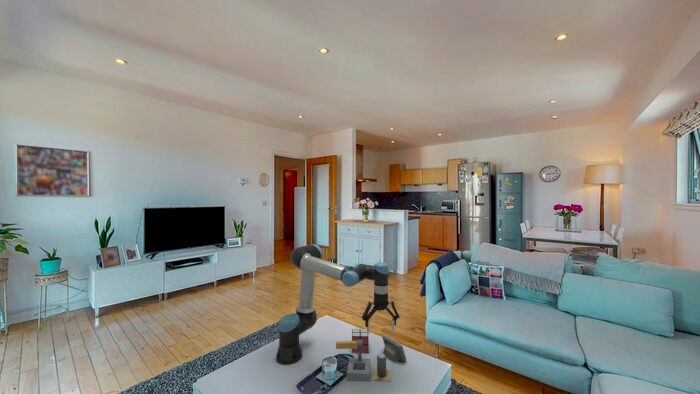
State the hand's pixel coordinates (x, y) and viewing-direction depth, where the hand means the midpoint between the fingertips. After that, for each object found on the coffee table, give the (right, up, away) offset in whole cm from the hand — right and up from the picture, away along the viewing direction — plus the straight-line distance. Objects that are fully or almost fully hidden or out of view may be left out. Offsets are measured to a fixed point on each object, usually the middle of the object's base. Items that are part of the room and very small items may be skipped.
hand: (380, 332), depth 145 cm
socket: (-11, -22, 0) cm, 25 cm away
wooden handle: (-17, -12, +6) cm, 21 cm away
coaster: (0, -22, -2) cm, 22 cm away
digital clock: (+10, -22, +15) cm, 28 cm away
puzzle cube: (-10, -22, +24) cm, 34 cm away
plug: (0, -21, -2) cm, 21 cm away
